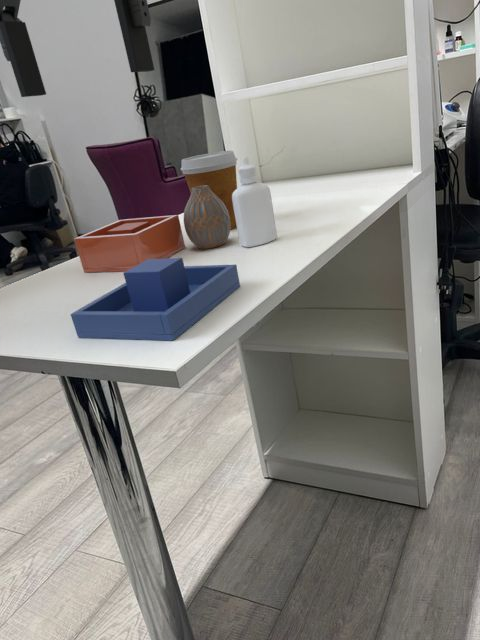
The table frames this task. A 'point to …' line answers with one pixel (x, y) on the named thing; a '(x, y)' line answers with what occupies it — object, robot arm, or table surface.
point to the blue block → (157, 284)
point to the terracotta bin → (130, 244)
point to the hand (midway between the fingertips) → (85, 84)
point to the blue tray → (123, 323)
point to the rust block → (129, 228)
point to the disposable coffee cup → (214, 176)
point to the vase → (206, 218)
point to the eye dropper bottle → (253, 208)
